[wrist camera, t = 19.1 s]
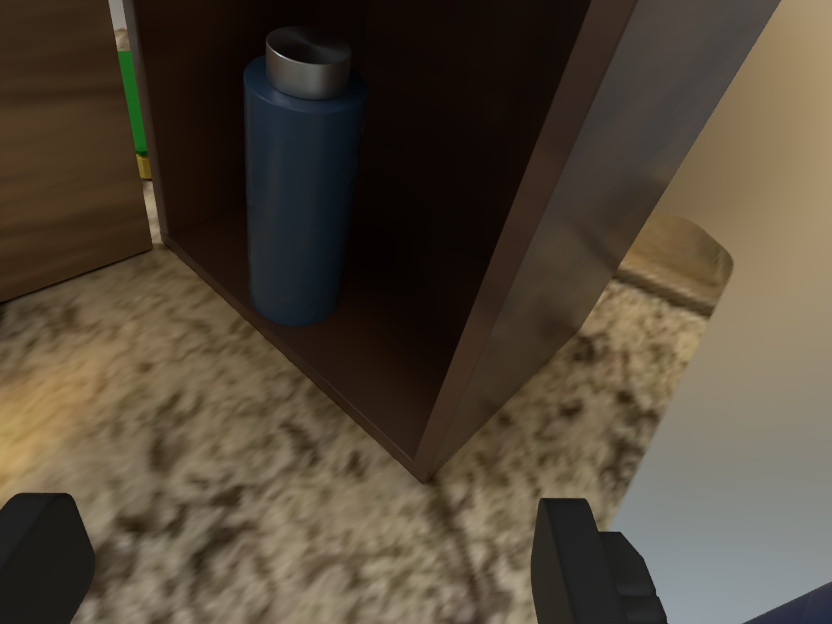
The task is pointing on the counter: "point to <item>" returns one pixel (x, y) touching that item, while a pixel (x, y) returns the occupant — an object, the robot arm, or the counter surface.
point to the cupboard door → (64, 146)
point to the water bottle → (300, 171)
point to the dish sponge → (134, 112)
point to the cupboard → (444, 179)
